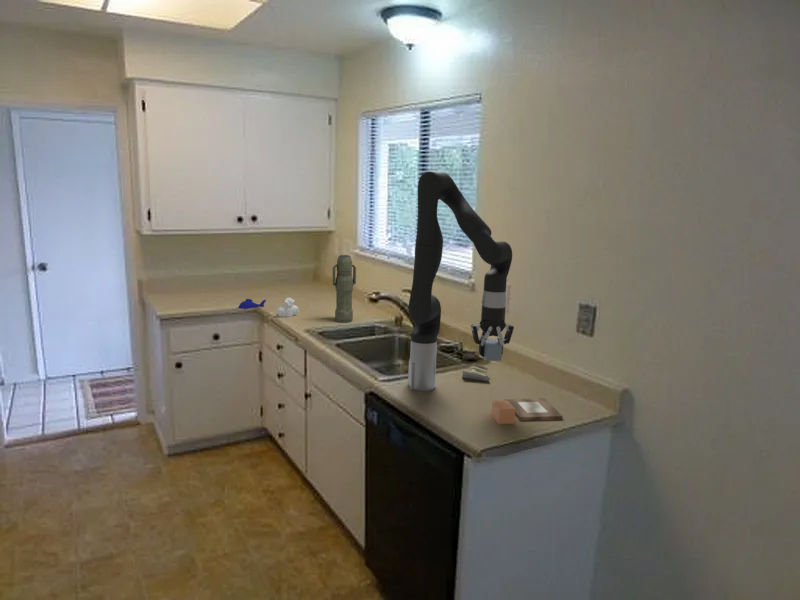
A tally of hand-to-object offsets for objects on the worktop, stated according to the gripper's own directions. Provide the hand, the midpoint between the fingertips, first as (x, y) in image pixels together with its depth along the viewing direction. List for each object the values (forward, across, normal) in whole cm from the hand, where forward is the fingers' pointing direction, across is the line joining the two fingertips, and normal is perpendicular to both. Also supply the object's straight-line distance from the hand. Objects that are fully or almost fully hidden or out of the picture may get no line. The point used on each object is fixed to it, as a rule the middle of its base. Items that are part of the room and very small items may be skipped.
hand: (490, 355), depth 186 cm
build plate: (+17, +14, -5) cm, 23 cm away
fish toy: (+18, -90, +147) cm, 173 cm away
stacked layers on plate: (+18, +3, +26) cm, 31 cm away
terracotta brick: (+17, +2, -11) cm, 21 cm away
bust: (+18, -70, +128) cm, 147 cm away
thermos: (+18, -41, +115) cm, 124 cm away
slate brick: (+1, 0, 0) cm, 1 cm away
